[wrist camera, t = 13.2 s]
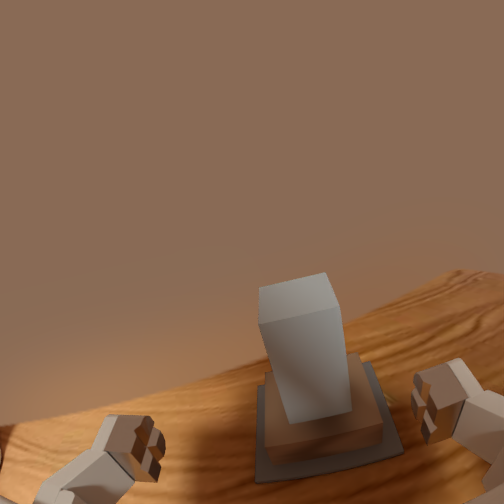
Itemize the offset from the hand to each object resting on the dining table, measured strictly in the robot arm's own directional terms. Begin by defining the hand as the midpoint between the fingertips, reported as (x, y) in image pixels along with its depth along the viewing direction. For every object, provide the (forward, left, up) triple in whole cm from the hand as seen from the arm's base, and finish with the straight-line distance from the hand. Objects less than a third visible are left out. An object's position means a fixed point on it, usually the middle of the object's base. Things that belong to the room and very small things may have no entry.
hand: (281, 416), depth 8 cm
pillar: (+1, +13, -13) cm, 18 cm away
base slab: (+1, +13, -16) cm, 20 cm away
